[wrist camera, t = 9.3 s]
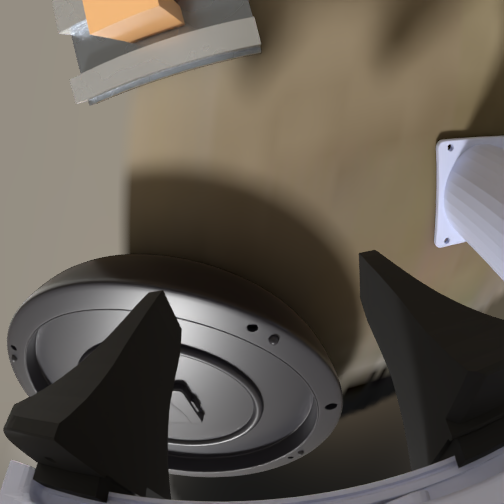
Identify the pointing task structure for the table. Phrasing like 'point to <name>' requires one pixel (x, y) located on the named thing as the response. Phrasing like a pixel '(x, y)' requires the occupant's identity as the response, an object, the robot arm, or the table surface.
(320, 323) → the table surface
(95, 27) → the orange notched block
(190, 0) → the slotted rail
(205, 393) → the grey bolted disc
